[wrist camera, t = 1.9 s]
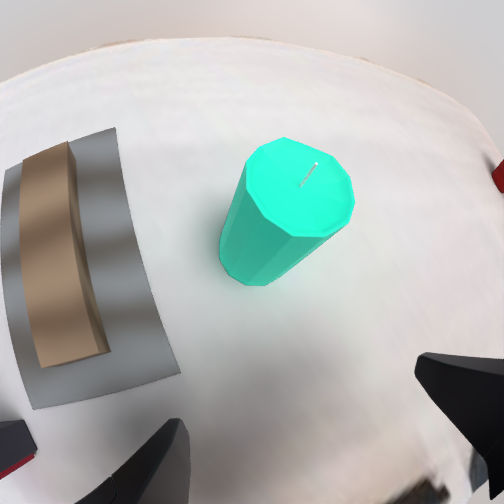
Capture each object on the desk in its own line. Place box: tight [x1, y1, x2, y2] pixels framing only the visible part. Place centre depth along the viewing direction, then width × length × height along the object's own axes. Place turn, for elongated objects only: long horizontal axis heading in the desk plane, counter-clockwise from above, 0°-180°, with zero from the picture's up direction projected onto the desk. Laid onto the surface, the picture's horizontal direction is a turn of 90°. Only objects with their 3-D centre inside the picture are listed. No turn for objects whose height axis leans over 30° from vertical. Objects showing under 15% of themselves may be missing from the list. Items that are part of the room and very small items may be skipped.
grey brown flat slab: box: [0, 127, 181, 410], centre depth 17 cm, size 24×14×3 cm, turn 22°
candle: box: [219, 137, 355, 286], centre depth 17 cm, size 6×6×12 cm
